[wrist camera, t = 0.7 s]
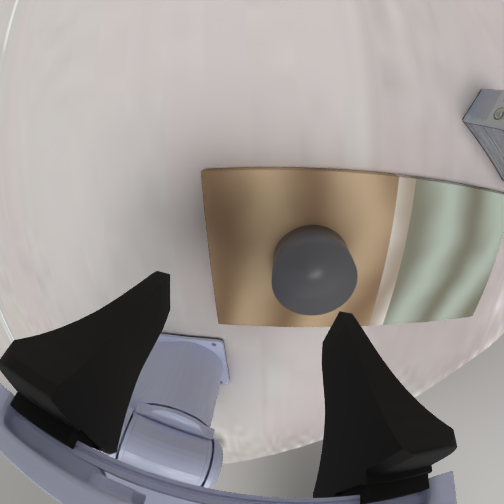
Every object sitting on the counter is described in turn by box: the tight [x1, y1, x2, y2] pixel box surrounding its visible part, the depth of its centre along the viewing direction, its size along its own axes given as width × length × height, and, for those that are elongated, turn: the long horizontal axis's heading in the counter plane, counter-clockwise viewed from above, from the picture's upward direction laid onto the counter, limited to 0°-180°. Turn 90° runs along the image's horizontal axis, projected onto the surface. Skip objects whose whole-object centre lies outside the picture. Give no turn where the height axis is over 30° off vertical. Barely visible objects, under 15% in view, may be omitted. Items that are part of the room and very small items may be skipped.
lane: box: [201, 167, 504, 327], centre depth 21 cm, size 28×14×1 cm, turn 92°
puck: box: [272, 225, 358, 316], centre depth 20 cm, size 6×6×3 cm
